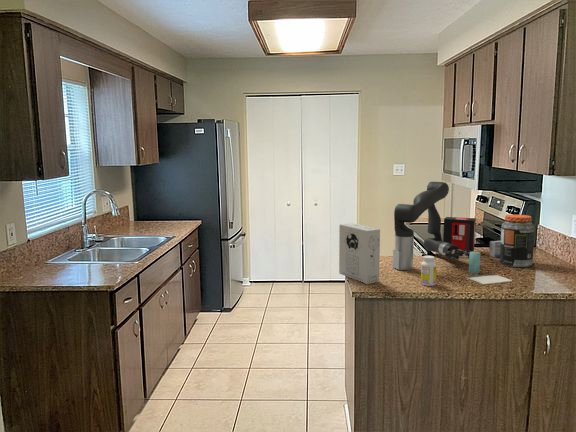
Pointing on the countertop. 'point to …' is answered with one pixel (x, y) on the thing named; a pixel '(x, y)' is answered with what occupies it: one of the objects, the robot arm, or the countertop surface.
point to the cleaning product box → (460, 232)
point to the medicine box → (494, 248)
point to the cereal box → (359, 252)
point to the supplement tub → (517, 241)
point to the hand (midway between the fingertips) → (465, 256)
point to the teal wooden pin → (474, 262)
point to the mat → (489, 279)
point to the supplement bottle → (428, 271)
